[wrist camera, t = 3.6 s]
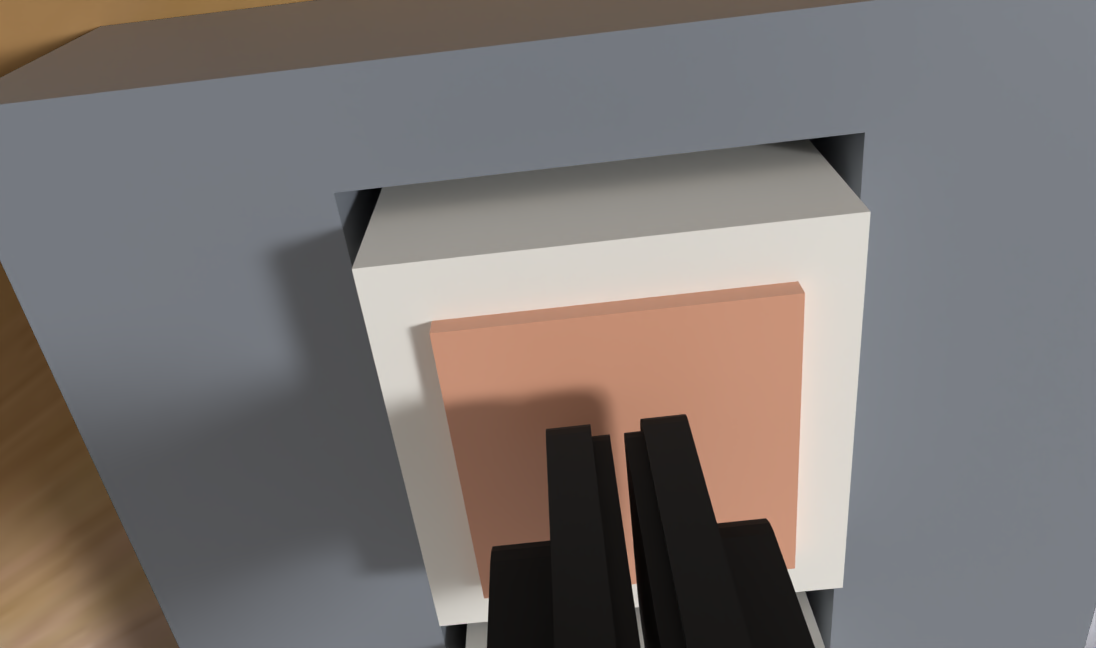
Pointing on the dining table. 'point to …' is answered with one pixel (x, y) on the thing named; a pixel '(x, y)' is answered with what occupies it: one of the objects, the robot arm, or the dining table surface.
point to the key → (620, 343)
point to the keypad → (532, 144)
